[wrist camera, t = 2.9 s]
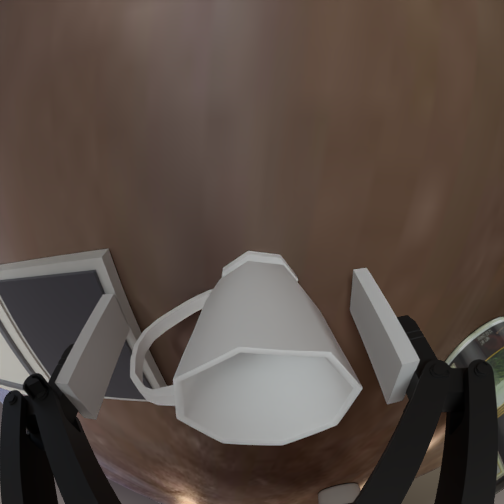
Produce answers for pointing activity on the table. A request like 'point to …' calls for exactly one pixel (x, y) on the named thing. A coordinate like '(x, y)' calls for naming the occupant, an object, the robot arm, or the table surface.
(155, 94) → the table surface
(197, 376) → the cup
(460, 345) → the coffee can
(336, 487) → the coffee cup
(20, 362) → the board
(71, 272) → the ink pad
